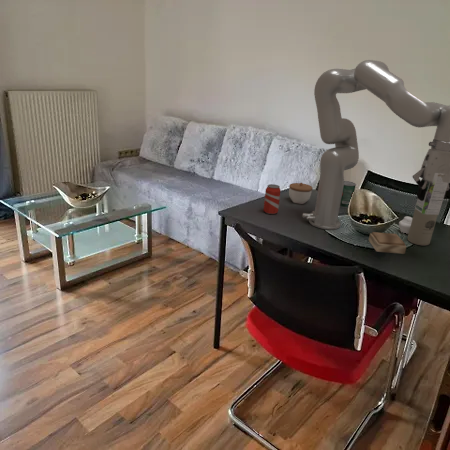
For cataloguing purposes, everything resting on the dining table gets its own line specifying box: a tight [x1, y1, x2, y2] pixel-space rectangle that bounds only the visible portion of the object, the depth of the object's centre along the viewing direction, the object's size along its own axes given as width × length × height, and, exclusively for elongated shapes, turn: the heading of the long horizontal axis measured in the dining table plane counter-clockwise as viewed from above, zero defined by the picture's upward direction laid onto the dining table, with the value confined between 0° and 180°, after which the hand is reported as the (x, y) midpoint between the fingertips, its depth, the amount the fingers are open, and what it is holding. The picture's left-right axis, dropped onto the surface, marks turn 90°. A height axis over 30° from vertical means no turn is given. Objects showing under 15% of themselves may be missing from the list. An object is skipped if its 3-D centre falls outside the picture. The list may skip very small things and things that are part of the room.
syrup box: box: [414, 173, 448, 215], centre depth 132 cm, size 6×6×14 cm
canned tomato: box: [340, 180, 357, 209], centre depth 188 cm, size 8×8×11 cm
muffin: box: [398, 215, 413, 235], centre depth 160 cm, size 6×6×7 cm
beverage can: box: [263, 183, 282, 215], centre depth 171 cm, size 6×6×12 cm
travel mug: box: [406, 208, 438, 246], centre depth 150 cm, size 8×8×18 cm
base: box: [368, 231, 407, 255], centre depth 147 cm, size 10×10×4 cm
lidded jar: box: [288, 182, 313, 205], centre depth 189 cm, size 11×11×9 cm
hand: (429, 199), depth 133 cm, fingers closed on syrup box, 5 cm apart
